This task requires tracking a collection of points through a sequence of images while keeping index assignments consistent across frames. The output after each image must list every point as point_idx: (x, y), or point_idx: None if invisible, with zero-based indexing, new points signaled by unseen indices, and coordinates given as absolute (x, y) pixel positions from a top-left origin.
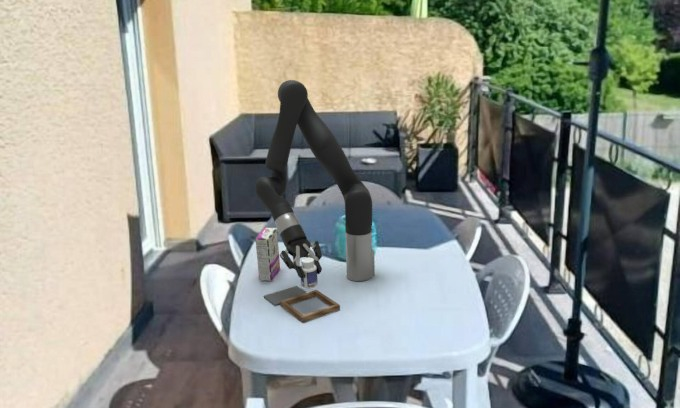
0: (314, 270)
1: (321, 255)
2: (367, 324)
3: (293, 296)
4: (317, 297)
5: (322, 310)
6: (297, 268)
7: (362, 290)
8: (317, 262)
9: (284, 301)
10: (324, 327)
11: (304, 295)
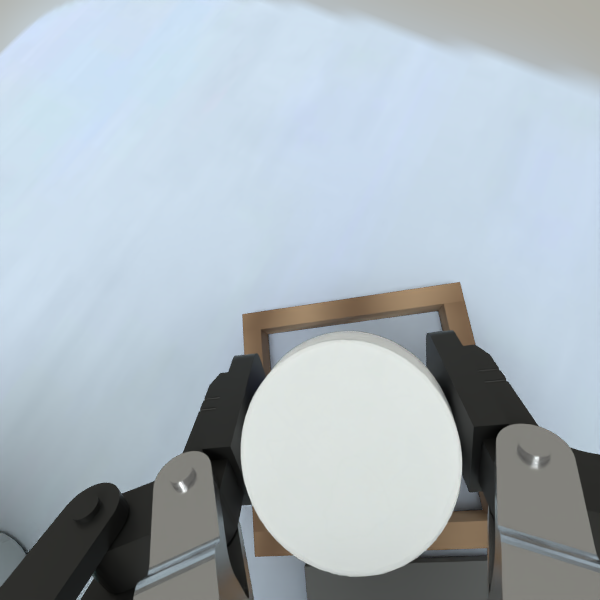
0: (310, 339)
1: (69, 510)
2: (226, 173)
3: (401, 593)
4: None
5: (338, 302)
6: (529, 423)
7: (71, 441)
8: (207, 432)
9: None
10: (377, 215)
11: None
